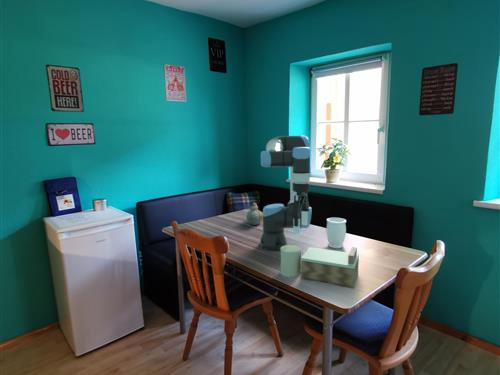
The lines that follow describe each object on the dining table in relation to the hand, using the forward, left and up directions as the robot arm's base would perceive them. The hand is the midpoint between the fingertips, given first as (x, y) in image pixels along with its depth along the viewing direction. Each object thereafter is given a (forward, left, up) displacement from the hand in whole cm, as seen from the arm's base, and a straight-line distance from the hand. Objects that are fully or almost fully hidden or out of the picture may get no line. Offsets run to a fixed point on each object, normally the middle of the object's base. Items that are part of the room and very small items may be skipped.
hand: (300, 228), depth 142 cm
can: (-3, -4, -20) cm, 21 cm away
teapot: (-51, +60, -20) cm, 81 cm away
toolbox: (+14, -1, -20) cm, 24 cm away
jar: (+9, +38, -20) cm, 44 cm away
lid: (+14, -1, -11) cm, 18 cm away
